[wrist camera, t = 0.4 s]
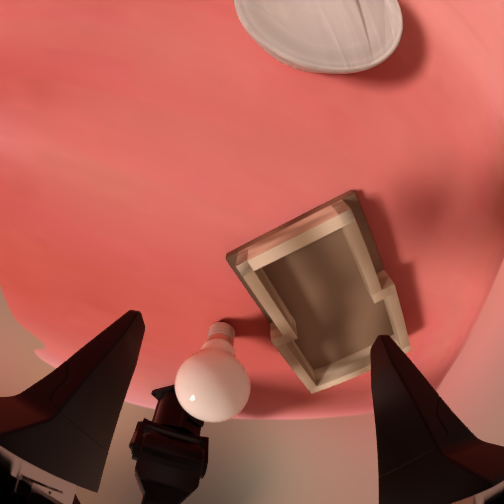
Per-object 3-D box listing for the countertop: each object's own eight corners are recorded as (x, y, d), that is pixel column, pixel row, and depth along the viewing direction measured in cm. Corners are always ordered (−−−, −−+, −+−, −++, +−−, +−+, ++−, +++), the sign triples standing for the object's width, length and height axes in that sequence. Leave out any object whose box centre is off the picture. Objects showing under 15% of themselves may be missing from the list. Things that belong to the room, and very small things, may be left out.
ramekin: (400, 43, 16) (431, 29, 11) (309, 111, 19) (324, 106, 15) (309, -43, 13) (319, -73, 8) (211, 19, 16) (197, -6, 11)
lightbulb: (260, 312, 27) (259, 405, 17) (244, 354, 30) (238, 439, 20) (197, 296, 27) (169, 385, 17) (188, 340, 29) (165, 423, 20)
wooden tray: (308, 371, 31) (311, 393, 28) (226, 253, 25) (221, 273, 22) (400, 330, 28) (411, 350, 25) (351, 189, 22) (365, 201, 19)
